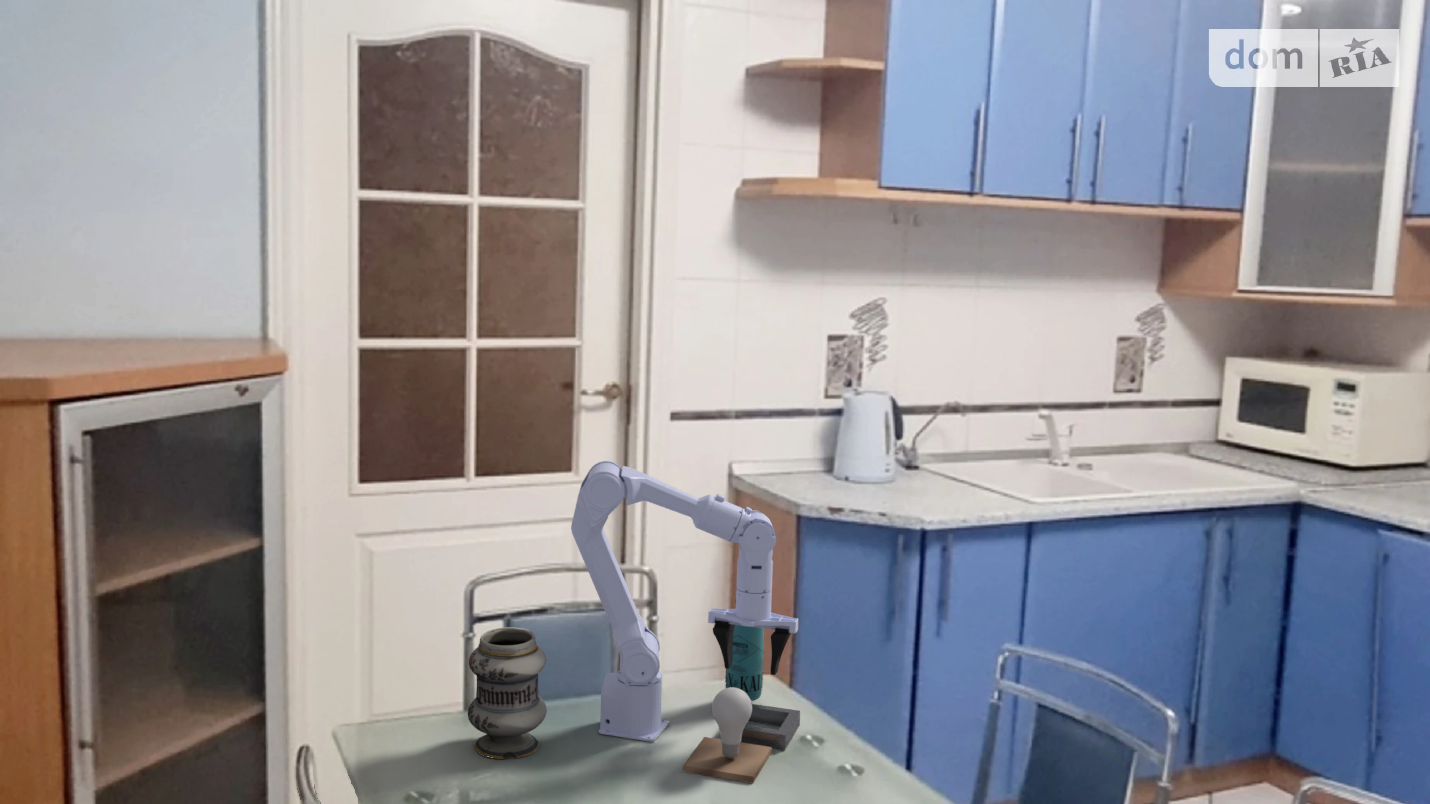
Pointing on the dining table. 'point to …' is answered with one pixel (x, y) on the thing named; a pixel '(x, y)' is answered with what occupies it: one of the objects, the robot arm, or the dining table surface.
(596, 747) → the dining table surface
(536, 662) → the apothecary jar
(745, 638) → the beverage bottle
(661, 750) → the dining table surface
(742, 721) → the lightbulb
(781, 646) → the robot arm
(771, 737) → the holder frame
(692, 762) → the walnut pad
